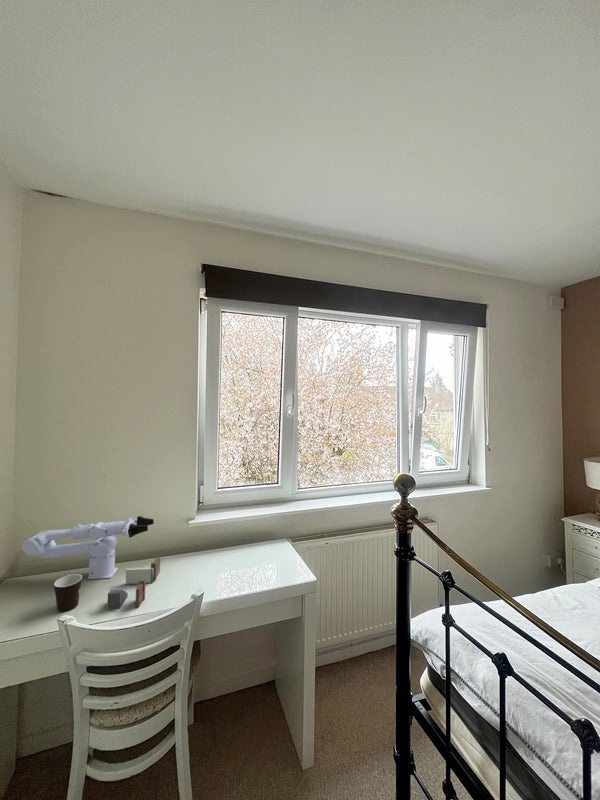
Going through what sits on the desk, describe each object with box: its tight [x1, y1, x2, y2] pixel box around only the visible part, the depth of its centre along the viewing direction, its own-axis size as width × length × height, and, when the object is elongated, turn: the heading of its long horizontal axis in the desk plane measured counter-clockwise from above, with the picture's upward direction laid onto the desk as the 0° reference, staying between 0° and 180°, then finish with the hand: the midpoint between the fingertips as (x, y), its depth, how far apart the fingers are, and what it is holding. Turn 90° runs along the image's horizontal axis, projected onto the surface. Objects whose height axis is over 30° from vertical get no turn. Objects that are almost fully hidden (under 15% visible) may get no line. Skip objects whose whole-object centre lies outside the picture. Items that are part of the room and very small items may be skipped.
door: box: [125, 567, 154, 585], centre depth 137 cm, size 11×1×6 cm, turn 97°
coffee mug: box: [53, 573, 83, 613], centre depth 122 cm, size 12×9×10 cm
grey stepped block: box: [106, 588, 129, 610], centre depth 123 cm, size 7×4×6 cm, turn 7°
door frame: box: [135, 555, 161, 609], centre depth 134 cm, size 2×26×8 cm, turn 7°
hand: (150, 524), depth 146 cm, fingers open, 7 cm apart
